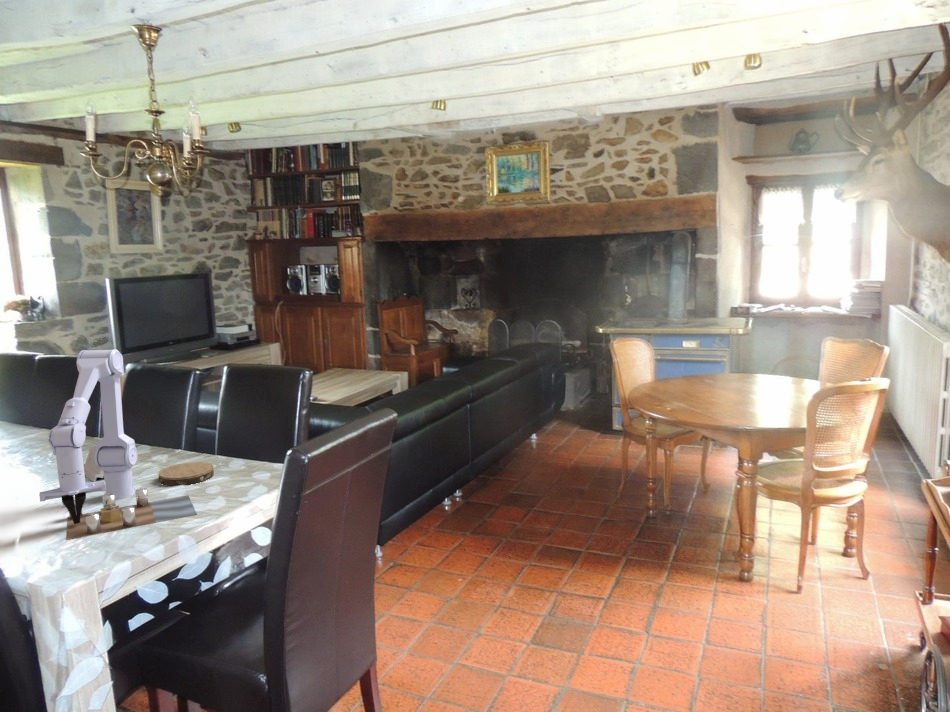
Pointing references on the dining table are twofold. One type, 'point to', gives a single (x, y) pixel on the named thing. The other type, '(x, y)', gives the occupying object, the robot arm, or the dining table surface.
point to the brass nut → (110, 514)
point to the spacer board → (138, 516)
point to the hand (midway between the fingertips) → (77, 522)
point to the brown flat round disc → (186, 474)
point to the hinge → (92, 466)
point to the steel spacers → (127, 512)
